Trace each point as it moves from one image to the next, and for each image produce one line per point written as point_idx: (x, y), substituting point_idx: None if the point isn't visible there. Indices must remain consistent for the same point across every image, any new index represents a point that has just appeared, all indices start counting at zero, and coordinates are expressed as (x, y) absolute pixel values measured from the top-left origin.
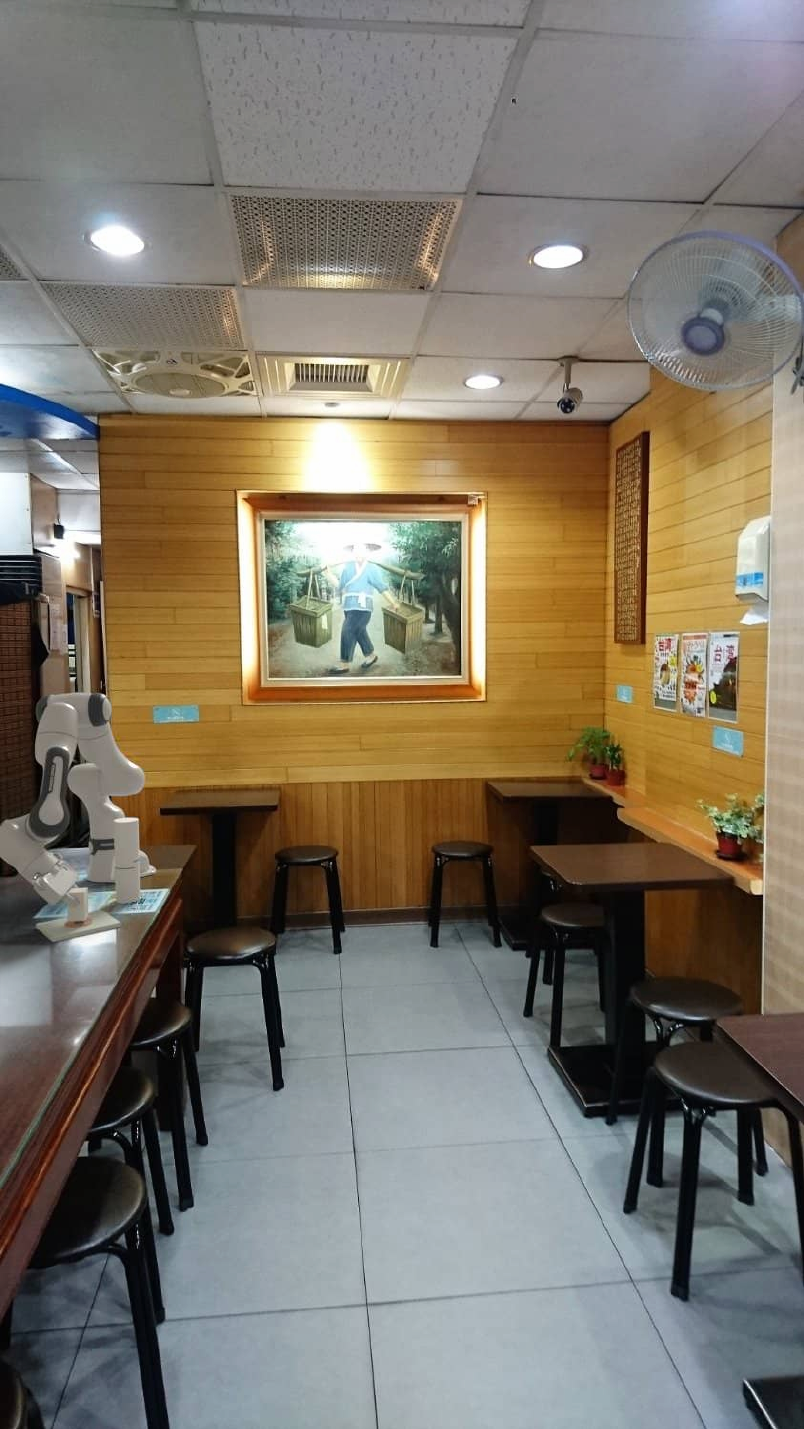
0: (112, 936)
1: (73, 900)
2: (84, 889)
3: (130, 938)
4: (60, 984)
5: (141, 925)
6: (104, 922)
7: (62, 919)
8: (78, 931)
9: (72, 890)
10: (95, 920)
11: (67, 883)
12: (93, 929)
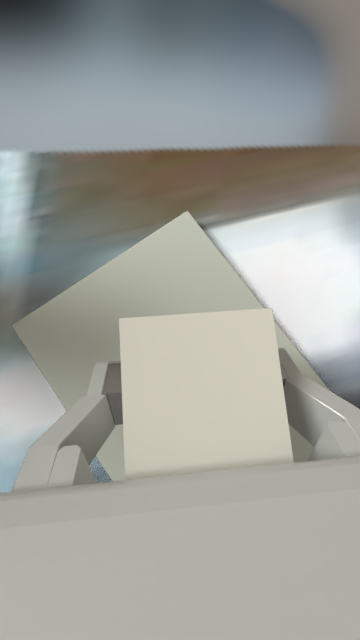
0: (283, 224)
1: (305, 382)
2: (187, 328)
3: (301, 165)
4: None
5: (177, 156)
6: (183, 269)
7: (124, 469)
8: (285, 341)
9: (212, 441)
10: (154, 312)
11: (273, 545)
12: (251, 293)
